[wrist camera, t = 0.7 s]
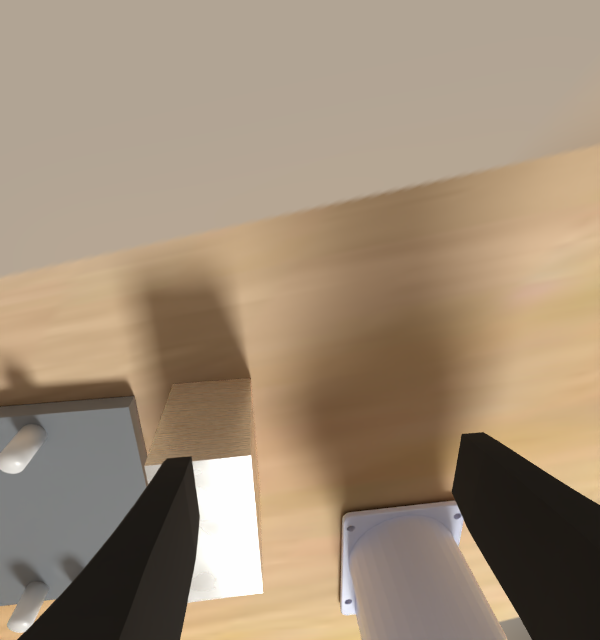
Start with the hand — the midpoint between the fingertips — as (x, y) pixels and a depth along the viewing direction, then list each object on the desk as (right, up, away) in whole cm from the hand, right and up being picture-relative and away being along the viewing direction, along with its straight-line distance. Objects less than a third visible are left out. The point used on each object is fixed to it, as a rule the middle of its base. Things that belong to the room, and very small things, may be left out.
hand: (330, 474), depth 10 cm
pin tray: (-15, -6, +12) cm, 20 cm away
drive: (-5, -3, +12) cm, 13 cm away
